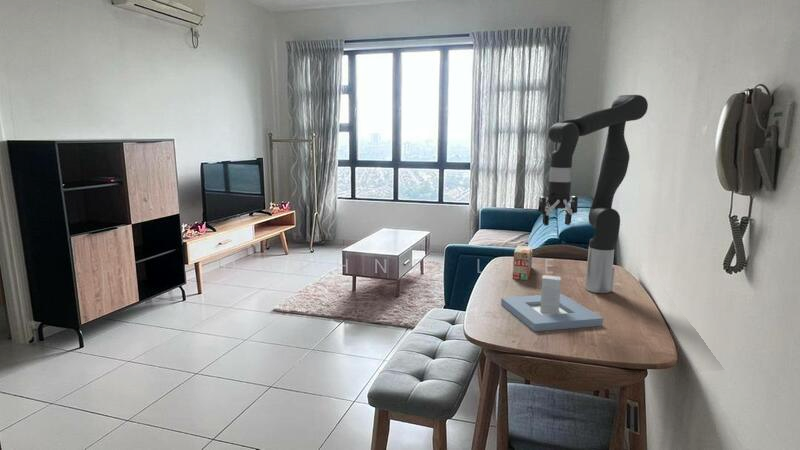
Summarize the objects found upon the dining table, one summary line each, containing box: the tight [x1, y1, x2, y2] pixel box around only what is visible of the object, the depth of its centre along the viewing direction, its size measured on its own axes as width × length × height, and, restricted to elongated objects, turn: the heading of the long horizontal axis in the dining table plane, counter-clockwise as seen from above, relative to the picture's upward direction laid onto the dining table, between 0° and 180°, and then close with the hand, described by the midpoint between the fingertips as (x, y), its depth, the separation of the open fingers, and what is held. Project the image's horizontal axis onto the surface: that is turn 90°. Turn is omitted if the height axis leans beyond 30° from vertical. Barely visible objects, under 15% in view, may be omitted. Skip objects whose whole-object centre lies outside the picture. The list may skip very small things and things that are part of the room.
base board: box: [500, 293, 604, 332], centre depth 157 cm, size 24×24×2 cm
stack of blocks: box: [512, 244, 533, 281], centre depth 204 cm, size 21×6×12 cm, turn 160°
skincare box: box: [540, 274, 562, 314], centre depth 156 cm, size 6×4×12 cm
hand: (556, 224), depth 167 cm, fingers open, 8 cm apart
